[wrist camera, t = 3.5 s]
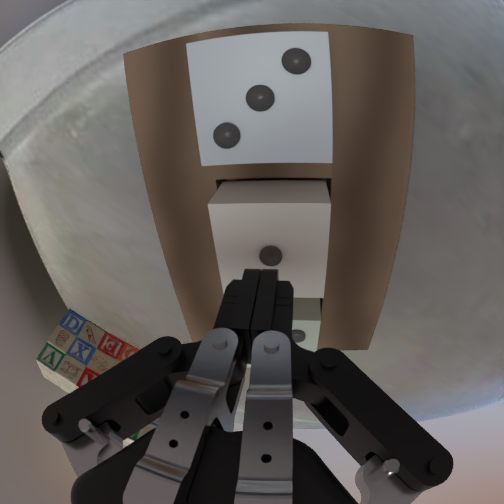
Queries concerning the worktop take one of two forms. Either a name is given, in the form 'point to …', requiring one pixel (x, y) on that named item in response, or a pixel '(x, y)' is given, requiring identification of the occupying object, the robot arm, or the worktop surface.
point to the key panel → (286, 173)
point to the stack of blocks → (83, 357)
